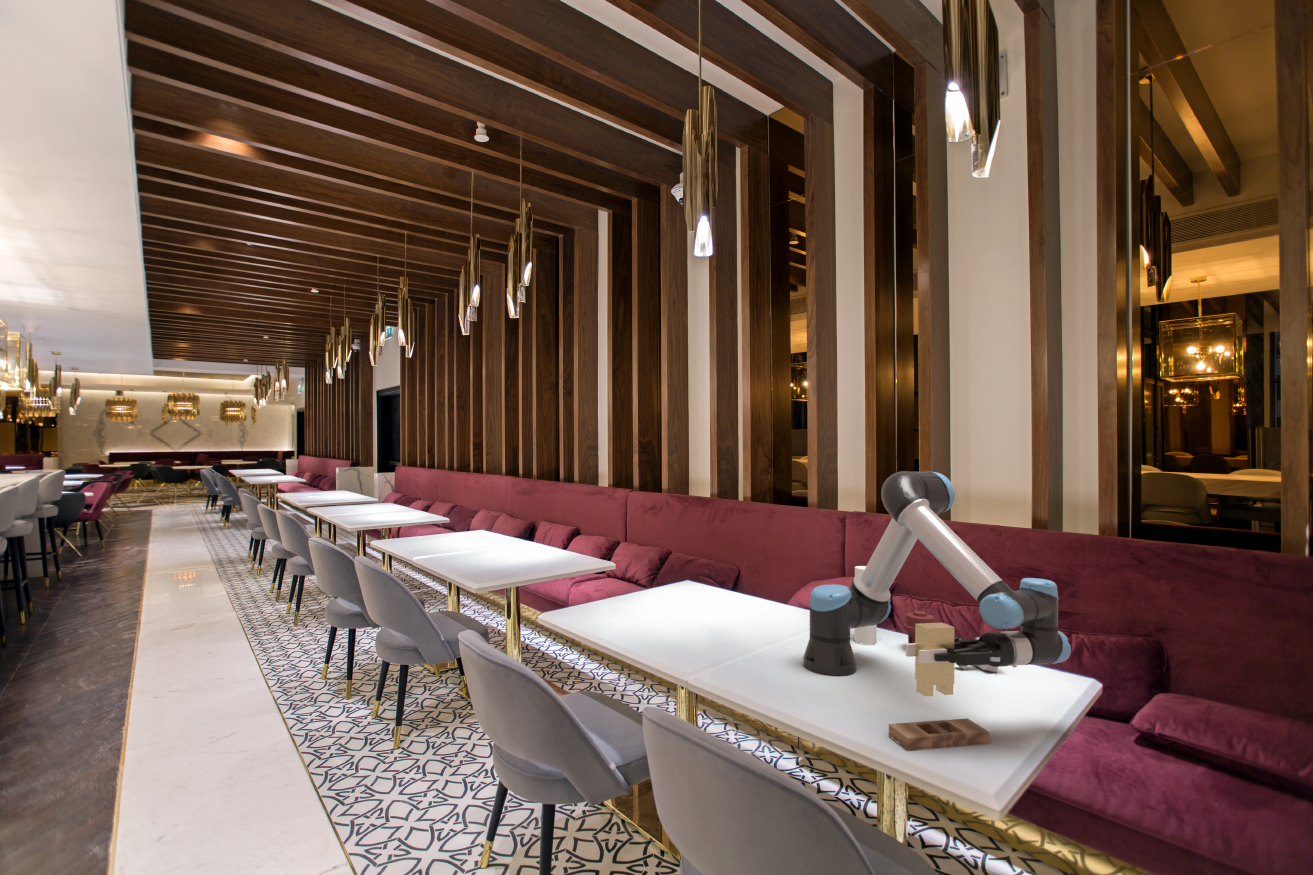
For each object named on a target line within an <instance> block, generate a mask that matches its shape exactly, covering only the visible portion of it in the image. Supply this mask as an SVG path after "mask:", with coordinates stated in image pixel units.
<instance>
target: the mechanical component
mask: <svg viewBox="0 0 1313 875" xmlns="http://www.w3.org/2000/svg"><path fill="white" fill-rule="evenodd" d="M905 617H906V618H905V622H903V624H902V625H903V629H904V630H905V631H907V634H908V635H907V637H908V638H907V639H908V640H907V644H910V643H915V624H919V623H935V618H934V616H933V615H931V614H928V613H927V612H925V611H922V610H920V611H919V610H914V611H913V612H907V613H906V614H905Z"/></svg>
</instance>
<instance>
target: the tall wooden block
mask: <svg viewBox="0 0 1313 875" xmlns="http://www.w3.org/2000/svg"><path fill="white" fill-rule="evenodd" d="M954 637H955V627H954V626H952V625H950V624H948V623H944V622H934V623H919V624H915V656H914V657H915V658H914V660H915V661H914V662H915V663H914V666H915V669H914V670H915V671H914V672H915V673H914V677H915V679H914V680H916V681H915V684H916V686H915V687H916V689H915V691H916V692H917V693H919V694H921V695H923V696H924V697H934V686H935V691H937V692H939V693H941V694H943V695H944V696H953V695H954V684H955V663H949V662H948V661H947V662H941V663H922V664H921V663H919V650H930V649H946V650H947V653H948V647H951V648H954Z"/></svg>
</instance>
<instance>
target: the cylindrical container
mask: <svg viewBox="0 0 1313 875" xmlns="http://www.w3.org/2000/svg"><path fill="white" fill-rule="evenodd" d="M866 566H867V565H856V566H854V577H855V576H857V575H862V573H863V572H864V570H865V568H866ZM877 625H878V624H876V625H872V626H864V627H858V628H853V629H854V630H853V631H854V633H853V635H854V636H853V641H854V640H855V641H856V642H855V641H854V642H855V643H857V642H858V643H857V644H859V643H863V644H862V645H864V644H874V645H876V644H877V633H878V632H877V630H878V629H877V627H878V626H877ZM875 643H876V644H875Z"/></svg>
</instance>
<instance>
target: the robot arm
mask: <svg viewBox="0 0 1313 875" xmlns="http://www.w3.org/2000/svg"><path fill="white" fill-rule="evenodd" d="M880 495H881V501H882V503H883V507H884V508H885V510H886V511H887V513H888V514H889V515H890V516H891V520H890V522H889V523H888V525H887V527H886V528H885V531H884V533H883V535H882V536H881V538H880V541H879V542H878V543H877V546H876V548H875V549H874V551H873V553H872V555H871V557H870V559H869V561H868V562H867V565H865V566H866V568H865V570H864V572H863V573H862V575H857V576H855V575H854V578H853V580H851V583H850V585H849V587H848V586H845V585H843V584H822V585H819V586H816V587H814V588H813V589H812V590H811V591H810V598H809V603H808V604H809V640H808V642H807V645H806V647H805V650H804V654H803V657H802V658H803V661H802V663H803V664H804V665H803V664H802V665H803V666H804V668H806V669H807V670H809V671H811V672H814V673H817V674H820V675H827V676H848V675H852V674H854V673H856V672H857V661H856V658H855V654H854V651H853V648H852V644H851V629H854V628H858V627H864V626H872V625H876V624H877V625H878V624H881V623H882V622H884V621H885V620H886V619H887V618H888V617H889V616H890V613H891V608H892V605H891V604H890V603H891V596H892V595H891V591H890V588H891V586H892V585H893V583H894V581H895V580H896V577H897V576H898V575H899V572H900V571H901V568H902V567H903V566H904V564H905V562H906V560H907V558H908V556H909V555H910V553H911V551H912V549H913V548H914V546H915V544H916V543H917V540H919V542H920V543H921V544H922V545H923V546H924V547H925V548H926V549H927V550H928V551H929V552H930V553H931V554H932V555H933V556H934V557H935V559H936V560H938V562H939V563H940V564H941V565H942V566H943V567H944V568H945V569H946V570H947V571H948V572H949V573H950V574H951V576H953V577H954V578H955V580H957V582H958V583H959V584H960V585H961V586H962V587H963V588H964V589H965V590H966V591H967V592H968V593H969V594H970V595H971V596H972V597H973V599H974V600H975V601H977V603H979V608H978V609H979V613H980V615H981V616H980V617H981V618H982V620H983V622H985V623H986V624H987V625H988V626H990V627H991V628H994V629H997V630H1002V631H988V632H984V633H982V634H981V636H979V637H980V638H979V640H977V639H975V638H969V639H963V637H962V636H960V635H959V636H954V648H951V647H948V653H947V650H946V649H930V650H919V663H921V664H922V663H941V662H947V661H948V662H949V663H954V664H955V663H957V664H956V665H957V666H958V667H959V666H967V665H968V666H976V665H990V666H992V667H998V668H999V667H1000V668H1001V667H1002V668H1003V667H1008V666H1009V667H1012V668H1017V667H1018V666H1028V665H1054V664H1058V663H1063V662H1065V661H1067V660H1068V659H1069V658H1070V655H1071V652H1072V647H1071V644H1070V642H1069V638H1068V637H1067V636H1066V635H1065V634H1064V633H1063V632H1062V631H1060V630H1059V593H1058V586H1057V584H1056V583H1055V582H1054V581H1052V580H1049V579H1045V578H1038V577H1037V578H1035V577H1024V578H1022V579H1021V580H1020V583H1019V590H1013V589H1012V588H1011V587H1010V586H1009V585H1008V584H1007V583H1006V582H1005V581H1004V580H1003V579H1002V578H1001V577H1000V576H999V575H998V574H997V573H996V572H995V571H993V569H991V567H990V566H989V565H987V564H986V562H985V561H984V560H983V559H982V558H980V556H979V555H977V553H976V552H974V551H973V549H971V547H970V546H969V545H967V543H966V542H965V541H963V539H961V538H960V536H958V535H957V534H956V533H955V531H953V529H951V527H949V525H948V524H946V523H945V521H944V520H943V519H941V518H940V517H939V514H943V513H946V512H947V511H948V510H950V509H951V508H952V506H953V505H954V502H955V498H956V496H955V495H956V494H955V490H954V486H953V484H952V482H951V480H950V479H949V478H948V477H947V476H946V475H944V474H942V473H940V472H935V471H931V470H925V471H907V470H903V471H897V472H895V473H892V474H891V475H890V476H889V477H887V478H886V480H884V482H883V484H882V486H881V494H880ZM1018 627H1020V630H1014V631H1013V630H1011V629H1016V628H1018ZM1007 629H1010V631H1009V630H1007ZM1003 630H1005V631H1003ZM905 656H906V657H912V658H913V657H915V643H910V644H908V643H905ZM963 661H964V662H963ZM968 666H967V667H968Z"/></svg>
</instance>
